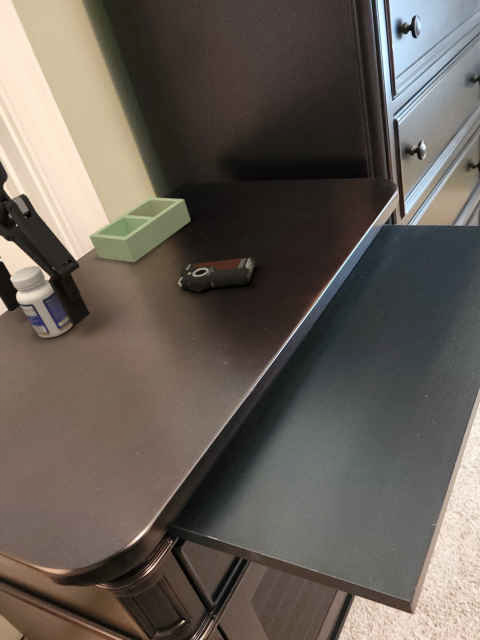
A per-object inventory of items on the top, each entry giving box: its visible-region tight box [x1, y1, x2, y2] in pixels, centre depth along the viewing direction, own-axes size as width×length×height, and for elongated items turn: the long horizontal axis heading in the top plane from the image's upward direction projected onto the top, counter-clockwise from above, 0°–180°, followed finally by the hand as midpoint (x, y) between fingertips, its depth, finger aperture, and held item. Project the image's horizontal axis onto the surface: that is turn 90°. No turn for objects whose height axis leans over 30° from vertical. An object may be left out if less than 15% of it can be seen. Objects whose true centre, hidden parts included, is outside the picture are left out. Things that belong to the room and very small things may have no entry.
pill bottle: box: [10, 265, 74, 339], centre depth 72 cm, size 5×5×9 cm
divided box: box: [89, 196, 192, 263], centre depth 93 cm, size 8×16×4 cm, turn 152°
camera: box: [177, 256, 256, 293], centre depth 77 cm, size 6×3×11 cm
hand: (48, 312), depth 73 cm, fingers open, 13 cm apart
